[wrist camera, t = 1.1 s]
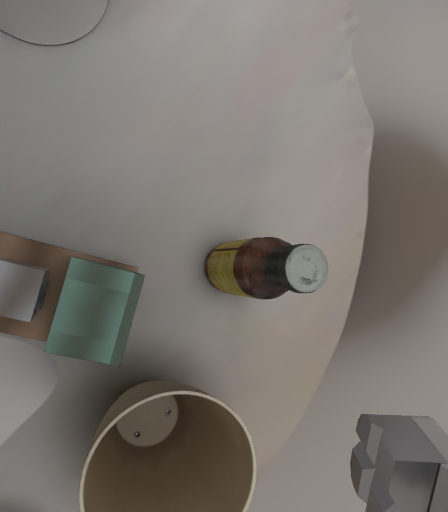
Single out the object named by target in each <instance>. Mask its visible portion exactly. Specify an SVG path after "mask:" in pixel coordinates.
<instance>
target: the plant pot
mask: <svg viewBox="0 0 448 512" xmlns="http://www.w3.org/2000/svg"><path fill="white" fill-rule="evenodd" d="M167 410H170V413H166V411H167ZM138 432H139V433H140V435H139V436H138V437H136V436H135V434H136V433H138ZM256 474H257V463H256V454H255V448H254V444H253V441H252V438H251V435H250V433H249V431H248V429H247V427H246V425H245V424H244V422H243V421H242V420H241V418H240V417H239V416H238V415H237V414H236V412H235V411H233V410H232V409H231V408H230V407H229V406H228V405H226V404H225V403H223V402H222V401H220V400H218V399H216V398H215V397H213V396H211V395H209V394H207V393H205V392H203V391H201V390H199V389H196V388H194V387H191V386H188V385H185V384H181V383H178V382H173V381H164V380H155V381H147V382H143V383H140V384H137V385H135V386H133V387H131V388H130V389H128V390H127V391H125V392H124V393H123V394H122V395H121V396H120V397H119V398H118V399H117V400H116V401H115V402H114V403H113V404H112V406H111V407H110V408H109V410H108V411H107V413H106V414H105V416H104V417H103V419H102V421H101V423H100V425H99V426H98V428H97V431H96V433H95V435H94V438H93V440H92V443H91V446H90V449H89V452H88V455H87V458H86V461H85V464H84V468H83V471H82V476H81V480H80V487H79V506H80V512H246V511H247V509H248V507H249V504H250V502H251V499H252V496H253V492H254V488H255V483H256Z"/></svg>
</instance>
